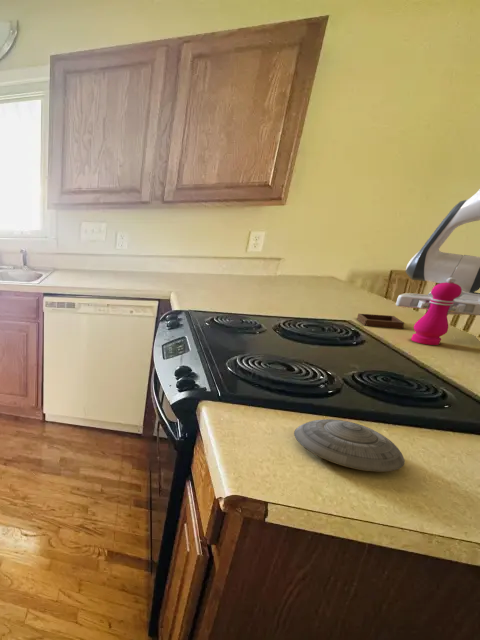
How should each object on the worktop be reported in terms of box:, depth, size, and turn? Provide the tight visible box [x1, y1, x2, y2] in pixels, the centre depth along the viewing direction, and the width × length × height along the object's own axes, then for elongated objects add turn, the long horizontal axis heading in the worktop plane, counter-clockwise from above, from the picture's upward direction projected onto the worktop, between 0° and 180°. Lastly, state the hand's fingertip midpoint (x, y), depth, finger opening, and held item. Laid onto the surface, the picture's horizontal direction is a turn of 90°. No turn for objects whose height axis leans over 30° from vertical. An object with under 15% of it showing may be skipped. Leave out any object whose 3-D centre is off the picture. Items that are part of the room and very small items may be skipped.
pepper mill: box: [410, 277, 462, 346], centre depth 119 cm, size 7×7×20 cm
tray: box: [356, 313, 405, 329], centre depth 142 cm, size 10×10×2 cm
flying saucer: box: [293, 418, 406, 473], centre depth 69 cm, size 15×15×6 cm
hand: (439, 308), depth 118 cm, fingers closed on pepper mill, 5 cm apart
